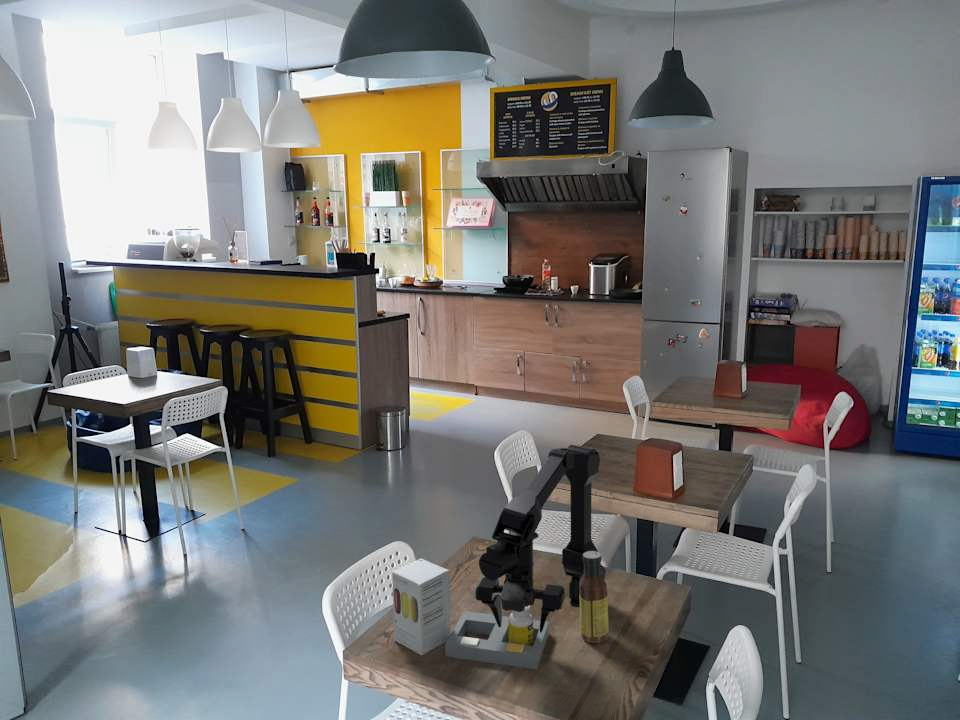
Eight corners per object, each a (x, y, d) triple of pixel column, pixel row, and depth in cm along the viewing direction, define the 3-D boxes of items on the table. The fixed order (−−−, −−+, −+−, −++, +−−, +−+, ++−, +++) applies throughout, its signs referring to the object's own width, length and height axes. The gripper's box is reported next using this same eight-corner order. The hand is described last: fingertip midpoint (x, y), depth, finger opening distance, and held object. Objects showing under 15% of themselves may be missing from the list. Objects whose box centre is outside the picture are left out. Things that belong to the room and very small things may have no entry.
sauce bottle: (610, 632, 166) (611, 550, 163) (605, 647, 161) (606, 562, 157) (581, 627, 169) (582, 546, 165) (576, 642, 163) (576, 558, 159)
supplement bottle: (531, 656, 158) (531, 614, 156) (506, 653, 159) (506, 611, 157) (535, 642, 163) (534, 601, 161) (510, 639, 164) (510, 599, 162)
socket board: (548, 633, 166) (548, 620, 166) (536, 669, 153) (536, 654, 152) (464, 622, 172) (463, 609, 171) (445, 656, 158) (445, 642, 158)
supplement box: (393, 641, 165) (389, 571, 162) (422, 624, 171) (420, 556, 168) (422, 656, 158) (419, 584, 155) (452, 638, 165) (450, 569, 162)
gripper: (467, 574, 152) (469, 643, 155) (556, 584, 147) (556, 655, 150) (481, 551, 163) (482, 616, 166) (565, 560, 158) (565, 627, 161)
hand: (520, 629), depth 160 cm, fingers open, 9 cm apart
